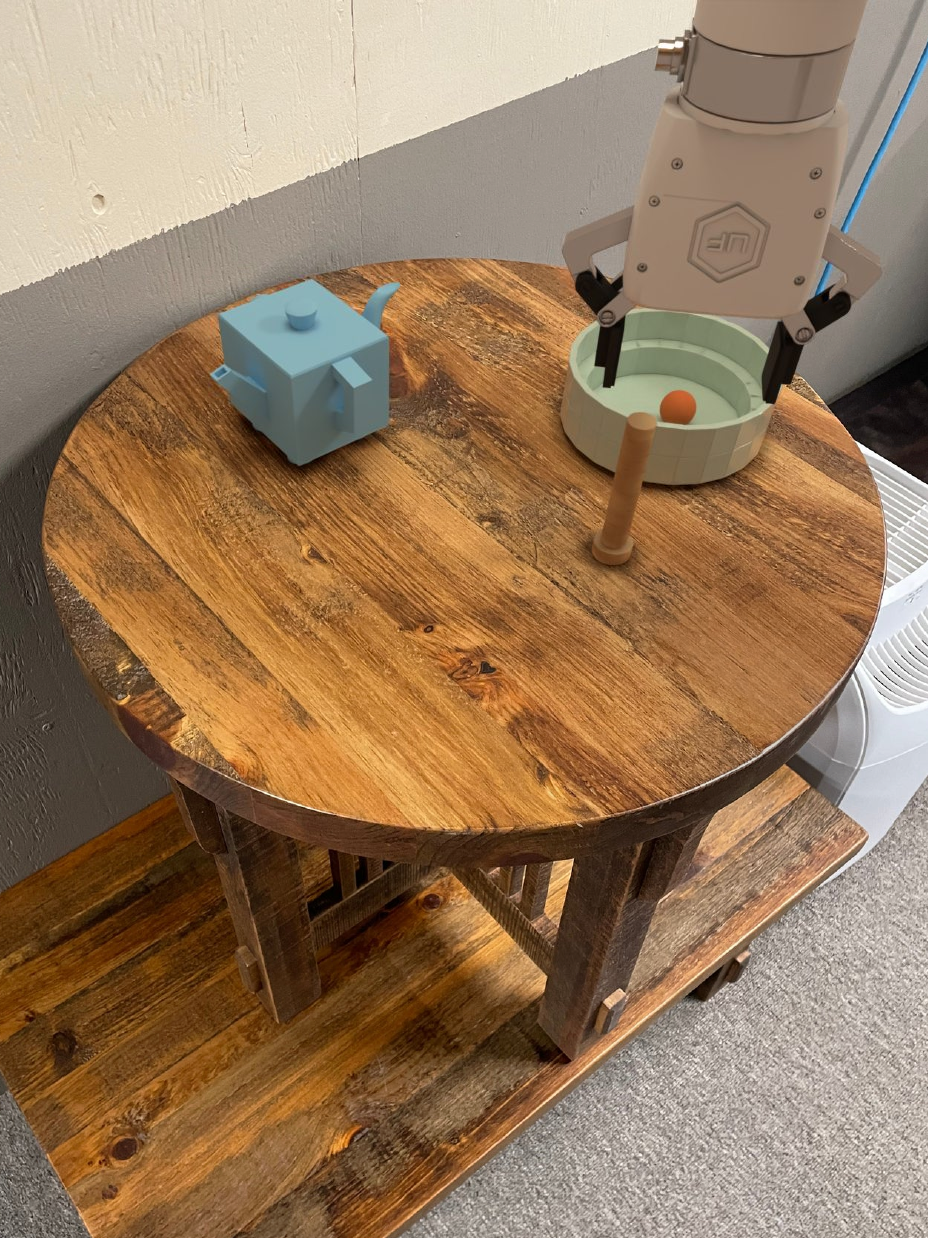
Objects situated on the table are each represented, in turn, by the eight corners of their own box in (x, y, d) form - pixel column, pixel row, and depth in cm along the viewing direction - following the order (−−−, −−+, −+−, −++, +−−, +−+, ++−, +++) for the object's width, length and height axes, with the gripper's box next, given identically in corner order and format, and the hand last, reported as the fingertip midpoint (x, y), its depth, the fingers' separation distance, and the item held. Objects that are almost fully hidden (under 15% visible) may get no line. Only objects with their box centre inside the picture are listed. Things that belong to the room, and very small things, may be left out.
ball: (653, 427, 84) (667, 429, 87) (688, 423, 83) (701, 426, 85) (654, 390, 84) (668, 393, 86) (689, 386, 82) (702, 389, 84)
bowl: (758, 380, 90) (778, 318, 86) (763, 503, 80) (787, 441, 75) (568, 358, 92) (578, 297, 88) (550, 475, 82) (560, 414, 77)
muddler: (632, 542, 77) (666, 410, 68) (628, 568, 76) (663, 437, 66) (593, 536, 78) (621, 404, 68) (589, 562, 76) (617, 430, 66)
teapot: (180, 419, 87) (156, 297, 78) (349, 349, 93) (345, 229, 84) (279, 517, 79) (265, 394, 70) (456, 433, 86) (463, 311, 77)
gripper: (577, 91, 47) (541, 404, 61) (962, 113, 45) (837, 434, 58) (589, 35, 52) (553, 338, 65) (939, 53, 50) (828, 363, 63)
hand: (687, 383), depth 62 cm, fingers open, 9 cm apart
